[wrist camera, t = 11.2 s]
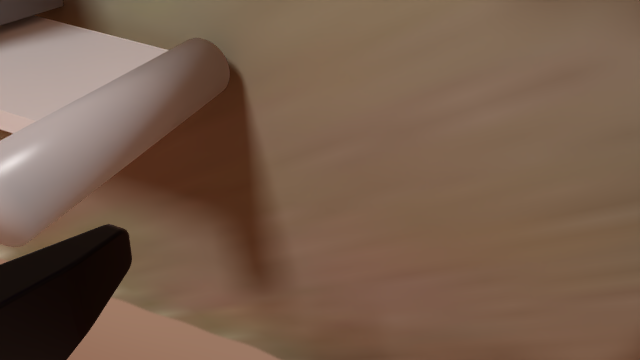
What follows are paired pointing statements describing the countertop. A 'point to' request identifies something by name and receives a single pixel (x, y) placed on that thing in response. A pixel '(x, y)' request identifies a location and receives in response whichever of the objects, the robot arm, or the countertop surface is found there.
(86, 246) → the robot arm
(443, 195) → the countertop surface
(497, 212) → the countertop surface
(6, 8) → the grey box
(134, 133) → the side door
